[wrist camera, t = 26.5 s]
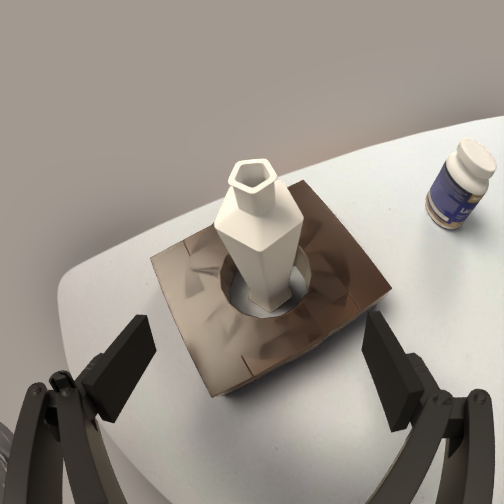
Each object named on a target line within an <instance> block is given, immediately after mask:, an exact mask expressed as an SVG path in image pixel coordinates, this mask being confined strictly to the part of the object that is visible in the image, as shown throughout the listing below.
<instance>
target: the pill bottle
mask: <svg viewBox="0 0 504 504" xmlns="http://www.w3.org/2000/svg"><path fill="white" fill-rule="evenodd" d="M495 170H496V162H495V160H494V158H493V157H492V155H491V154H490V153H489V151H488V150H487V149H486V148H485V147H484V146H482V145H481V144H480V143H478V142H477V141H475V140H473V139H470V138H463V139H462V140H461V141H460V143H459V145H458V147H457V152H453V153H451V154H450V155H449V156H448V157H447V159H446V161H445V163H444V165H443V167H442V169H441V170H440V172H439V174H438V176H437V178H436V180H435V181H434V183H433V185H432V186H431V188H430V190H429V192H428V194H427V196H426V199H425V204H426V209H427V211H428V213H429V215H430V216H431V218H432V219H433V220H434V221H435V222H436V223H437V224H439V225H440V226H442V227H444V228H447V229H456V228H458V227H459V226H460V225H461V224H462V223H463V222H464V221H465V219H466V218H467V217H468V216H469V214H470V213H471V212H472V210H473V209H474V208H475V207H476V205H477V204H478V203H479V201H480V200H481V199H482V197H483V196H484V195H485V193H486V192H487V190H488V186H489V180H488V179H489V178H491V177H492V175H493V174H494V172H495Z"/></svg>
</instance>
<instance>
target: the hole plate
mask: <svg viewBox="0 0 504 504" xmlns="http://www.w3.org/2000/svg"><path fill="white" fill-rule="evenodd" d="M287 189H288V190H289V192H290V194H291V196H292V197H293V199H294V201H295V202H296V204H297V206H298V208H299V210H300V211H301V213H302V215H303V217H304V219H303V223H302V228H301V233H300V237H299V242H298V246H297V250H296V255H295V259H294V263H293V264H294V265H295V266H297V268H298V269H299V271H300V272H301V273H302V275H303V276H304V278H305V283H306V288H307V293H306V295H305V296H304V297H303V299H302V300H301V301H300V303H299V304H298V305H297V307H295V308H293V309H292V310H290V311H288V312H287V313H285V314H283V315H281V316H277V317H270V318H262V319H261V318H257V317H253V316H250V315H246V314H243V313H242V312H240V311H239V310H238V309H237V308H235V307H234V306H233V305H231V303H230V291H229V288H230V285H231V282H232V279H233V276H234V275H235V274H236V272H237V271H238V270H239V269H238V268H237V266H236V264H235V262H234V261H233V259H232V257H231V255H230V253H229V252H228V250H227V248H226V246H225V245H224V243H223V241H222V239H221V238H220V236H219V234H218V232H217V230H216V229H215V227H214V223H215V222H214V223H213V224H212V225H211V226H209V227H207V228H205V229H203V230H201V231H199V232H197V233H195V234H194V235H192V236H190V237H188V238H186V239H184V240H182V241H180V242H179V243H177V244H175V245H173V246H171V247H169V248H167V249H166V250H164V251H162V252H160V253H158V254H157V255H155V256H153V257H151V258H150V260H151V262H152V265H153V268H154V270H155V273H156V276H157V278H158V281H159V284H160V286H161V289H162V291H163V294H164V296H165V299H166V301H167V304H168V306H169V308H170V311H171V313H172V315H173V318H174V320H175V322H176V325H177V327H178V329H179V331H180V334H181V336H182V338H183V340H184V343H185V345H186V347H187V349H188V351H189V353H190V355H191V357H192V360H193V362H194V364H195V366H196V368H197V370H198V372H199V374H200V376H201V378H202V380H203V382H204V384H205V386H206V388H207V389H208V391H209V393H210V395H211V397H219V396H224V395H226V394H228V393H231V392H233V391H235V390H237V389H239V388H241V387H243V386H245V385H247V384H249V383H250V382H252V381H254V380H256V379H258V378H260V377H262V376H264V375H266V374H267V373H269V372H271V371H273V370H275V369H276V368H278V367H280V366H282V365H284V364H285V363H287V362H289V361H294V360H296V359H297V358H299V357H301V356H302V355H304V354H306V353H307V352H309V351H311V350H312V349H314V348H315V347H317V346H319V345H320V344H321V343H322V341H323V340H325V339H326V338H328V337H330V336H331V335H333V334H334V333H336V332H337V331H339V330H340V329H342V328H343V327H345V326H346V325H348V324H349V323H351V322H352V321H353V320H355V319H356V318H358V317H359V316H361V315H362V314H363V313H365V312H366V311H368V310H369V309H370V308H372V307H373V306H375V305H376V304H377V303H378V302H379V301H380V300H381V299H382V298H383V297H384V296H385V295H386V294H387V293H388V292H389V291H390V290H391V289H392V287H391V286H390V285H389V283H388V282H387V281H386V279H385V278H384V277H383V275H382V274H381V272H380V271H379V270H378V269H377V267H376V266H375V265H374V263H373V262H372V261H371V259H370V258H369V257H368V255H367V254H366V253H365V252H364V250H363V249H362V248H361V247H360V245H359V244H358V243H357V242H356V240H355V239H354V238H353V237H352V235H351V234H350V233H349V232H348V230H347V229H346V228H345V227H344V226H343V224H342V223H341V222H340V221H339V220H338V218H337V217H336V216H335V215H334V214H333V213H332V211H331V210H330V209H329V208H328V207H327V206H326V204H325V203H324V202H323V201H322V200H321V199H320V198H319V196H318V195H317V194H316V193H315V192H314V191H313V190H312V189H311V188H310V186H309V185H308V184H307V183H306V182H305V181H304V180H302V181H300V182H298V183H296V184H293V185H291V186H289V187H287Z"/></svg>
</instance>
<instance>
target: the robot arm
mask: <svg viewBox="0 0 504 504" xmlns="http://www.w3.org/2000/svg"><path fill="white" fill-rule="evenodd" d="M156 351H157V350H156V347H155V343H154V340H153V336H152V333H151V329H150V325H149V322H148V318H147V315H136V316H135V317H134V318H133V319H132V320H131V321H130V323H129V324H128V325H127V326H126V327H125V329H124V330H123V331H122V332H121V333H120V334H119V336H118V337H117V338H116V339H115V340H114V342H113V343H112V344H111V345H110V346H109V348H108V349H107V350H106V351H105V353H100V354H98V355H97V356H95V357H94V358H93V359H92V360H91V361H90V363H89V364H88V365H87V366H86V368H85V369H84V370H83V371H82V372H81V374H80V375H79V376H78V377H77V378H76V380H75V381H74V380H73V378H72V376H71V374H70V373H69V372H67V371H64V370H63V371H58V372H56V373H54V374H53V375H52V376H51V377H50V379H49V382H50V384H51V386H52V388H53V389H54V390H48V389H47V388H46V386H45V385H44V384H43V383H40V382H38V383H34V384H32V385H31V386H30V387H29V388H28V390H27V392H26V395H25V398H24V401H23V405H22V408H21V411H20V415H19V418H18V421H17V425H16V429H15V433H14V437H13V441H12V445H11V450H10V455H9V460H8V462H7V461H6V459H5V458H4V457H3V455H2V454H1V453H0V504H62V477H63V476H62V475H63V458H64V461H65V466H66V471H67V475H68V479H69V483H70V487H71V491H72V494H73V498H74V501H75V504H127V501H126V499H125V497H124V495H123V493H122V490H121V488H120V486H119V483H118V481H117V478H116V476H115V473H114V471H113V468H112V465H111V463H110V460H109V457H108V454H107V451H106V449H105V445H104V442H103V439H102V436H101V432H100V429H99V426H98V422H97V420H96V418H95V417H96V415H97V413H98V414H99V415H100V417H101V419H102V420H104V421H107V422H111V423H115V421H116V419H117V418H118V416H119V414H120V412H121V411H122V409H123V407H124V405H125V404H126V402H127V400H128V398H129V397H130V395H131V393H132V392H133V390H134V388H135V386H136V385H137V383H138V381H139V380H140V378H141V376H142V374H143V373H144V371H145V369H146V368H147V366H148V364H149V363H150V361H151V359H152V358H153V356H154V354H155V353H156ZM362 352H363V355H364V357H365V360H366V363H367V365H368V368H369V370H370V373H371V376H372V378H373V381H374V384H375V386H376V389H377V392H378V395H379V397H380V400H381V403H382V406H383V409H384V412H385V415H386V418H387V421H388V424H389V427H390V430H391V432H395V431H400V430H404V429H406V428H407V426H408V424H409V422H410V423H411V425H412V429H411V431H410V433H409V435H408V436H407V438H406V441H405V443H404V445H403V446H402V448H401V450H400V452H399V453H398V455H397V457H396V459H395V460H394V462H393V464H392V465H391V467H390V468H389V470H388V472H387V473H386V475H385V476H384V478H383V479H382V481H381V482H380V484H379V485H378V487H377V488H376V490H375V491H374V492H373V494H372V495H371V497H370V498H369V499H368V501H367V502H366V503H365V504H410V503H411V501H412V500H413V498H414V496H415V494H416V493H417V491H418V489H419V487H420V485H421V483H422V481H423V479H424V477H425V475H426V473H427V471H428V469H429V467H430V465H431V463H432V461H433V458H434V456H435V454H436V451H437V449H438V447H439V444H440V442H441V439H442V438H446V446H445V454H444V462H443V469H442V475H441V480H440V486H439V490H438V495H437V499H436V504H492V498H493V488H494V472H495V437H494V421H493V410H492V401H491V397H490V395H489V394H488V392H486V391H485V390H482V389H474V390H473V391H471V392H470V394H469V395H468V397H461V398H455V397H453V396H452V395H451V394H450V393H449V392H447V391H445V390H440V388H439V387H438V385H437V383H436V381H435V380H434V378H433V376H432V375H431V373H430V371H429V370H428V368H427V366H425V363H424V361H423V360H422V358H421V357H419V356H418V355H417V354H415V353H410V354H405V352H404V350H403V348H402V347H401V345H400V343H399V342H398V340H397V338H396V337H395V335H394V333H393V332H392V330H391V328H390V327H389V325H388V323H387V322H386V320H385V319H384V317H383V315H382V314H381V312H380V311H374V312H368V314H367V320H366V327H365V333H364V339H363V345H362ZM44 420H45V421H44Z"/></svg>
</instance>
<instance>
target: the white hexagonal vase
mask: <svg viewBox="0 0 504 504" xmlns="http://www.w3.org/2000/svg"><path fill="white" fill-rule="evenodd" d="M276 180H277V174H276V173H275V171H274V170H273V168H272V166H271V164H270V163H269V161H268V160H266V159H254V160H244V161H239V162H237V163H236V164H235V166H234V168H233V170H232V173H231V175H230V177H229V179H228V183H229V184H230V185H231V187H230V188H229V190H228V193H227V195H226V197H225V199H224V202H223V204H222V206H221V209H220V211H219V213H218V216H217V218H216V220H215V223H214V227H215V229H216V230H217V232H218V234H219V236H220V238H221V239H222V241H223V243H224V245H225V246H226V248H227V250H228V252H229V253H230V255H231V257H232V259H233V261H234V262H235V264H236V266H237V268H238V269H239V271H240V273H241V275H242V276H243V278H244V280H245V281H246V283H247V285H248V287H249V288H250V290H251V291H250V294H249V299H250V300H251V301H253V302H254V303H256V304H257V305H259V306H261V307H262V308H264V309H266V310H267V311H269V312H273V311H274V310H275V309H277V308H278V307H279V306H280V305H282V304H283V303H284V302H285V301H287V300H288V299H289V298H290V297H291V296H292V294H291V291H290V289H289V287H288V284H289V280H290V276H291V272H292V268H293V263H294V259H295V255H296V250H297V246H298V242H299V237H300V233H301V228H302V223H303V219H304V217H303V215H302V213H301V211H300V210H299V208H298V206H297V204H296V202H295V201H294V199H293V197H292V196H291V194H290V192H289V190H288V189H287V187H286V185H285V183H284V182H283V181H279V180H277V181H276Z"/></svg>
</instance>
